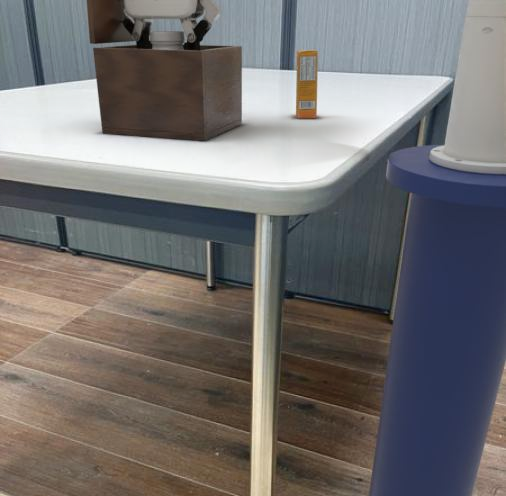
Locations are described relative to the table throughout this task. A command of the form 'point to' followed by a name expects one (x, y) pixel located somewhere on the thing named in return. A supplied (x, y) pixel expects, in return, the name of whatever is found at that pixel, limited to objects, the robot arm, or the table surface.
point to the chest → (169, 91)
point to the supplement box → (306, 84)
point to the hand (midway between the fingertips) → (169, 71)
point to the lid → (106, 22)
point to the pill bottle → (167, 40)
